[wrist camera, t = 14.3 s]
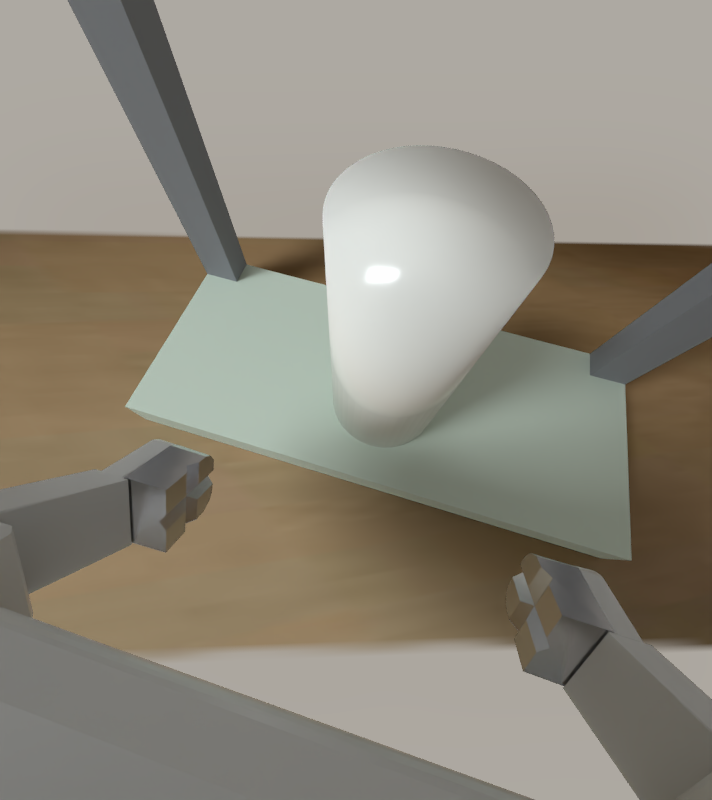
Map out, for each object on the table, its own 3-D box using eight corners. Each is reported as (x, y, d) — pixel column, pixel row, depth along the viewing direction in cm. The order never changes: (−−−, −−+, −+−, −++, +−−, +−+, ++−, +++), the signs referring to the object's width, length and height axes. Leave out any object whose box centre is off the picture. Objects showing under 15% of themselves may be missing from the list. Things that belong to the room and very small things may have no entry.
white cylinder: (319, 430, 17) (287, 273, 7) (349, 344, 19) (359, 127, 9) (422, 460, 17) (547, 341, 7) (441, 369, 19) (559, 172, 9)
